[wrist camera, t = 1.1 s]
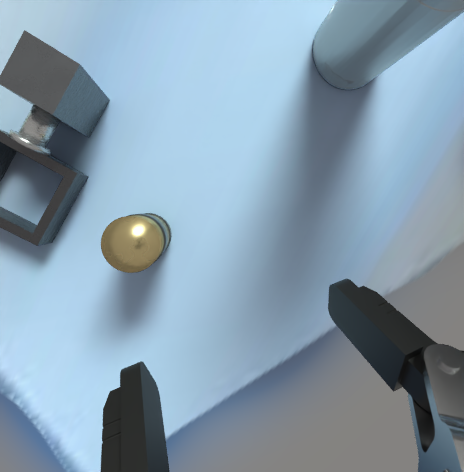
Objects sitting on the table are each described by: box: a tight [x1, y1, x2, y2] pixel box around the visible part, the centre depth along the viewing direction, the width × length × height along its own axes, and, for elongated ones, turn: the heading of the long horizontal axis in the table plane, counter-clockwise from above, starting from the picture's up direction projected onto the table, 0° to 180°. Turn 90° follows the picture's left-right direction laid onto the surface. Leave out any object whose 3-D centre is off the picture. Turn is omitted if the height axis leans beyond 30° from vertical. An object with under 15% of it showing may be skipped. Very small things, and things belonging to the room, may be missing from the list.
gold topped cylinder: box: [101, 213, 171, 273], centre depth 29 cm, size 5×5×10 cm
